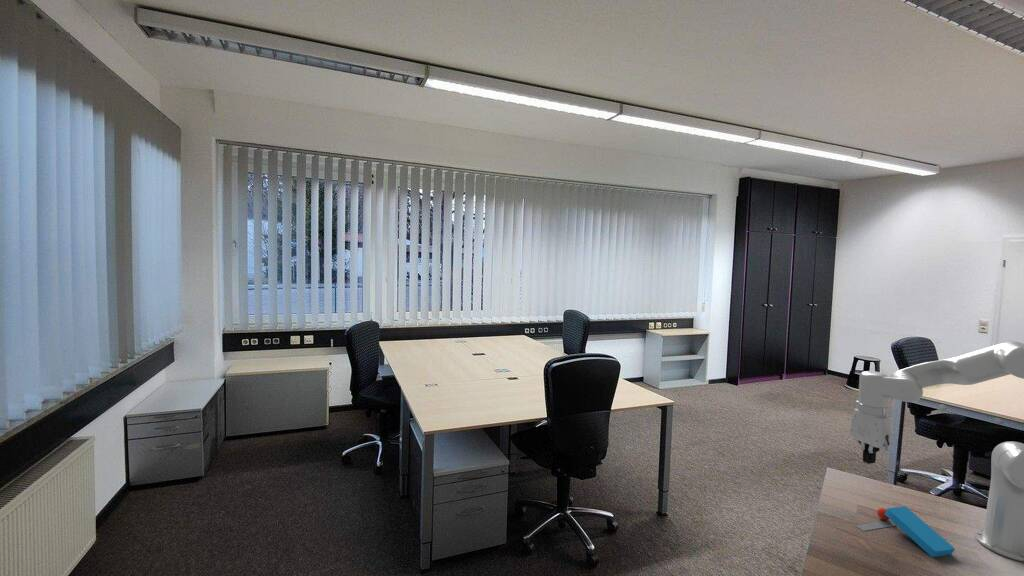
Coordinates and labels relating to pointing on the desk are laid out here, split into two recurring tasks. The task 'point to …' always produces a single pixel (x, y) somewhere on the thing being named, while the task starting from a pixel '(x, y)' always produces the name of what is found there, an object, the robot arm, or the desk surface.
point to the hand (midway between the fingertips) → (868, 462)
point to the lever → (917, 530)
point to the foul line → (876, 525)
